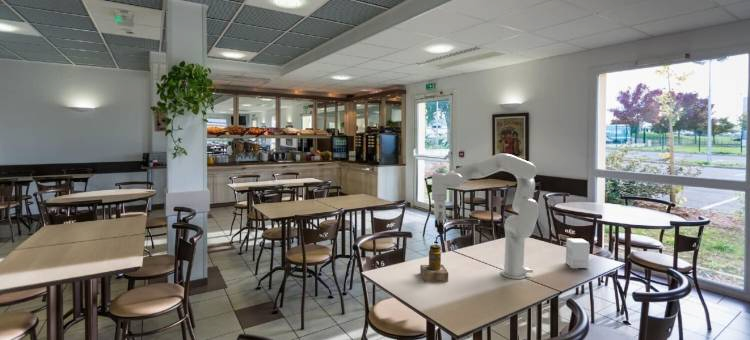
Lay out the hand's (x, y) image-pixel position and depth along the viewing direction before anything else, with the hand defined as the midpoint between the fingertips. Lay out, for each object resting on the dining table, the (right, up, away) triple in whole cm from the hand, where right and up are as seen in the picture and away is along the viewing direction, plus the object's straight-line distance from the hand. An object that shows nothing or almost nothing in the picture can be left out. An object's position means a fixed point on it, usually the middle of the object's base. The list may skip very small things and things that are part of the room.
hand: (439, 229), depth 194 cm
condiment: (-3, -20, 0) cm, 21 cm away
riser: (-3, -25, 0) cm, 25 cm away
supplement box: (+81, -24, +19) cm, 87 cm away
